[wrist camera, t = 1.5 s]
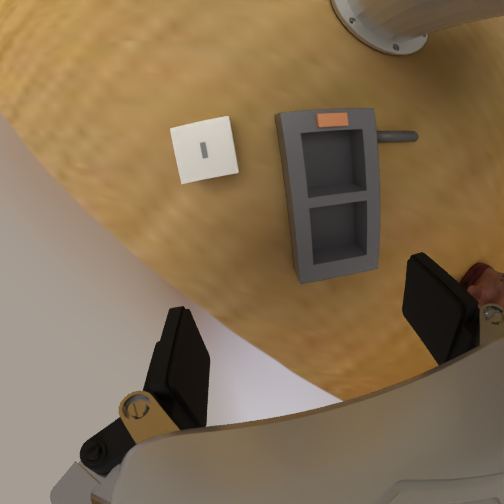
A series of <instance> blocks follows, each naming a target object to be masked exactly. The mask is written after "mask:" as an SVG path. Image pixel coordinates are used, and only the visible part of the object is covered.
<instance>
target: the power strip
mask: <svg viewBox="0 0 504 504" xmlns="http://www.w3.org/2000/svg"><path fill="white" fill-rule="evenodd" d="M275 121H276V127H277V134H278V141H279V147H280V154H281V161H282V169H283V176H284V184H285V191H286V199H287V207H288V216H289V224H290V233H291V243H292V252H293V262H294V269H295V272H296V274H297V277H298V279H299V282H300V284H304V283H309V282H315V281H320V280H325V279H330V278H335V277H340V276H345V275H350V274H355V273H360V272H365V271H369V270H374V269H378V257H379V235H380V180H379V158H378V144H377V142H415V141H417V140H418V134H417V133H416V132H414V131H376V122H375V113H374V108H345V109H321V110H306V111H294V112H284V113H279V114H276V115H275Z"/></svg>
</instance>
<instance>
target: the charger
mask: <svg viewBox="0 0 504 504" xmlns="http://www.w3.org/2000/svg"><path fill="white" fill-rule="evenodd" d="M170 132H171V137H172V142H173V147H174V152H175V156H176V161H177V166H178V170H179V175H180V180H181V184H184V183H189V182H194V181H199V180H204V179H209V178H214V177H219V176H224V175H230V174H236V173H239V171H238V161H237V155H236V149H235V144H234V138H233V132H232V126H231V121H230V118H229V116H225V117H220V118H215V119H210V120H205V121H200V122H195V123H191V124H187V125H182V126H178V127H174V128H170Z"/></svg>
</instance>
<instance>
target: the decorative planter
mask: <svg viewBox="0 0 504 504" xmlns="http://www.w3.org/2000/svg"><path fill="white" fill-rule="evenodd" d="M460 285H461V286H462V287H464V288H465V289H466V290H467V291H468V292H469V293H470V294H471V295H472V296H473V297H474V298H475V299H476V300H477V301H478V302H479V304H478V307H479V308H480V309H481V307H482V306H483V305H485V304H489V303H493V304H497V305H499V306H501V307H503V308H504V273H500V272H497V271H495V270H494V269H493V268H492V267H490V266H489V265H487V264H484V263H478V264H475V265H474V266H473V267H472V268H471V269H470V270H469V271H468V273H467V274H466V276H465V277H464V278H463V280H462V282H461V284H460Z"/></svg>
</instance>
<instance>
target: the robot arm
mask: <svg viewBox="0 0 504 504" xmlns="http://www.w3.org/2000/svg"><path fill="white" fill-rule="evenodd" d="M331 3H332V6H333V8H334V10H335V12H336V15H337V16H338V18H339V19H340V20H341V22H342V23H343V24H344V26H345V27H346V28H347V29H348V30H349V31H350V32H351V33H352V34H353V35H354V36H356V37H357V38H358V39H359V40H361V41H362V42H364V43H365V44H366V45H368V46H370V47H372V48H374V49H376V50H378V51H381V52H383V53H386V54H391V55H407V54H411V53H414V52H417V51H418V50H419V49H421V48H422V47H423V46H424V44H425V43H426V41H427V38H428V34H429V33H433V32H436V31H439V30H443V29H446V28H450V27H453V26H457V25H461V24H465V23H469V22H473V21H478V20H483V19H488V18H493V17H499V16H504V0H331ZM350 22H351V23H350ZM478 304H479V302H478V301H477V300H476V299H475V298H474V297H473V296H472V295H471V294H470V293H469V292H468V291H467V290H466V289H465V288H464V287H462V286H461V285H460V284H459V283H458V282H457V281H456V280H455V279H454V278H453V277H452V276H450V275H449V274H448V273H447V272H446V271H445V270H444V269H442V268H441V267H440V266H439V265H438V264H437V263H435V262H434V261H433V260H432V259H431V258H430V257H428V256H427V255H426V254H425V253H423V252H421V253H418V254H414V255H411V257H410V259H409V260H408V261H407V271H406V282H405V291H404V299H403V306H402V312H403V315H404V317H405V318H406V319H407V321H408V322H409V323H410V325H411V326H412V327H413V329H414V330H415V332H416V333H417V334H418V336H419V337H420V339H421V340H422V341H423V343H424V344H425V346H426V347H427V349H428V350H429V352H430V353H431V354H432V356H433V357H434V359H435V360H436V362H437V363H438V365H439V366H437V367H435V368H433V369H431V370H428V371H426V372H424V373H422V374H419V375H417V376H414V377H412V378H410V379H407V380H405V381H402V382H399V383H397V384H394V385H392V386H389V387H386V388H383V389H381V390H378V391H375V392H372V393H369V394H366V395H363V396H360V397H356V398H353V399H350V400H346V401H343V402H340V403H336V404H332V405H328V406H325V407H321V408H317V409H313V410H308V411H305V412H299V413H295V414H290V415H285V416H280V417H274V418H268V419H263V420H256V421H249V422H243V423H236V424H227V425H219V426H209V427H206V423H207V404H208V387H209V372H210V356H209V353H208V351H207V349H206V346H205V344H204V342H203V340H202V337H201V335H200V333H199V330H198V328H197V326H196V323H195V321H194V319H193V316H192V314H191V312H190V310H189V309H185V308H184V306H181V307H175V308H170V309H169V312H168V315H167V319H166V322H165V325H164V329H163V332H162V336H161V339H160V341H158V342H157V343H156V345H155V348H154V352H153V355H152V359H151V363H150V366H149V370H148V373H147V377H146V381H145V385H144V388H143V391H136V392H132V393H130V394H128V395H127V396H126V397H125V398H124V399H123V400H122V401H121V403H120V406H119V415H120V417H119V418H118V419H117V420H115V421H114V422H113V423H111V424H110V425H108V426H107V427H106V428H104V429H103V430H101V431H100V432H98V433H97V434H96V435H94V436H93V437H91V438H90V439H89V440H87V441H86V442H85V443H84V444H83V446H82V447H81V450H80V459H81V461H80V462H79V463H77V462H74V464H73V465H72V466H71V467H70V468H69V470H68V471H67V472H66V473H65V474H64V476H63V477H62V478H61V479H60V480H59V482H58V483H57V484H56V485H55V486H54V487H53V489H52V491H51V494H50V498H51V503H52V504H504V308H503V307H501V306H499V305H497V304H493V303H489V304H485V305H483V306H482V307H481V309H480V308H479V307H478Z"/></svg>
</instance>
